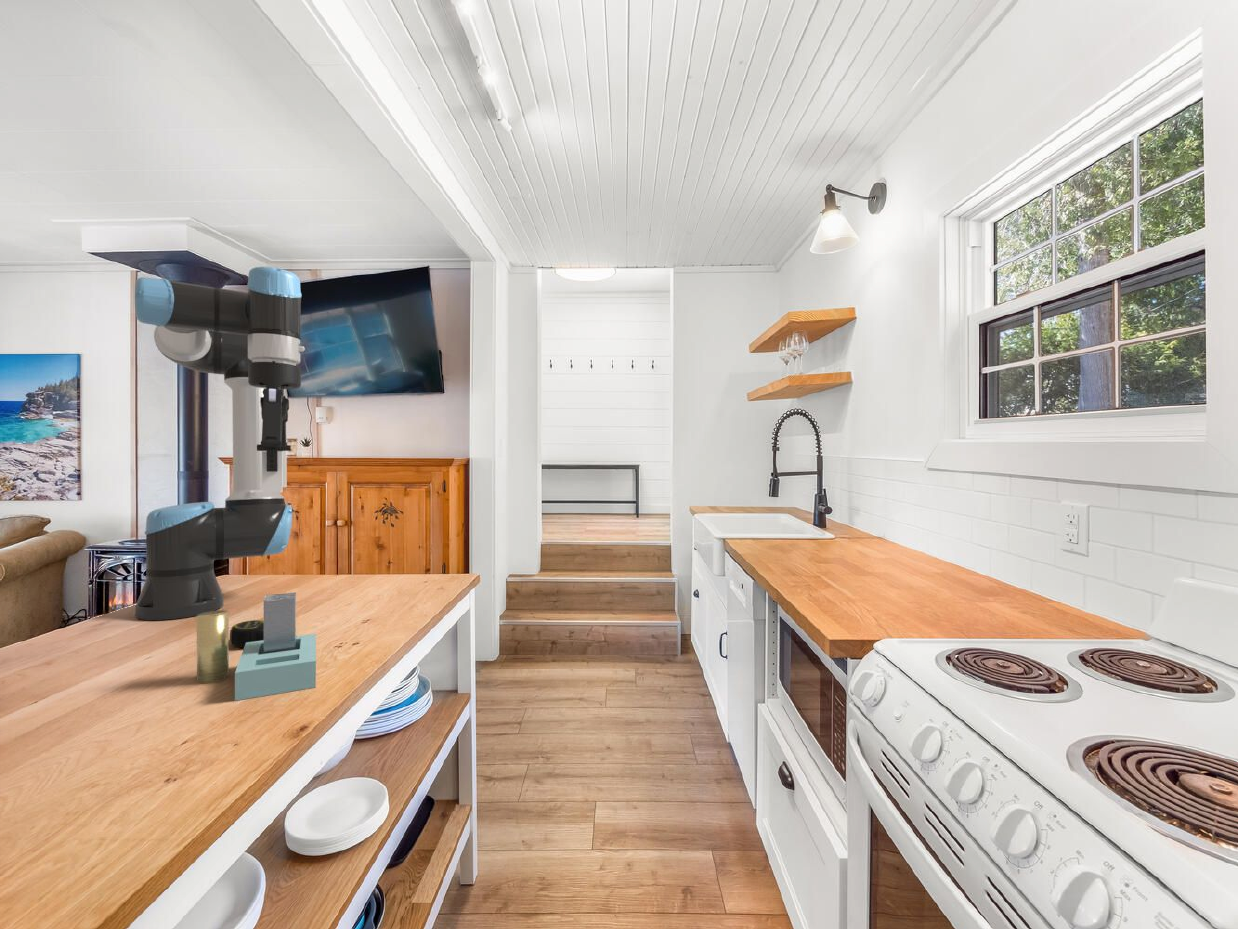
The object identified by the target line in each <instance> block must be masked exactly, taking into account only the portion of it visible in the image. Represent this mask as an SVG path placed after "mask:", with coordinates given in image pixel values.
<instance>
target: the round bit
mask: <svg viewBox="0 0 1238 929" xmlns="http://www.w3.org/2000/svg"><path fill="white" fill-rule="evenodd" d="M229 618H230V616H229V611H228V610H219V609H217V610H215V611H210V612H205V613H201V614H199V615H196V682H197V684H213V683H217V682H221V681H223V680H225V679H227V678H229V675H230V673H229V671H230V670H229V668H230V667H229V666H230V663H229V662H230V661H229V660H230V658H229V657H230V656H229V655H230V653H229V652H230V651H229V650H230V648H229V647H230V646H229V644H230V643H229V642H230V630H229V626H230V624H229V623H230V622H229V621H230V620H229Z"/></svg>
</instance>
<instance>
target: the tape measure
mask: <svg viewBox="0 0 1238 929" xmlns="http://www.w3.org/2000/svg"><path fill="white" fill-rule="evenodd" d="M262 640H264V619H263V620H262V619H261V620H260V619H253V620H247V621H241V622H239V623H236V624H234V625H233V626H232V627H231V629H230V630H229V642H230V644H231V645H232V646H235V647H238V648H241V647H242V648H244V647H245V644H246V642H254V641H262Z"/></svg>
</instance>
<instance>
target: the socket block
mask: <svg viewBox="0 0 1238 929" xmlns="http://www.w3.org/2000/svg"><path fill="white" fill-rule="evenodd" d="M239 658H240V659H239V661H238V662H237V666H236V669H235V672H234V701H236V702H237V701H242V700H243V701H244V700H248V699H255V698H259V697H267V696H271V695H277V694H284V693H290V692H291V693H292V692H296V691H302V690H308V689H313V688H316V684H317V683H316V676H317V668H316V667H317V666H316V665H317V634H316V633H310V634H302V635H301V634H300V635H296V650H289V651H282V652H275V653H268V654H264V640H262V641H254V642H246V644H245V647H243V650H242V652H241V654H240V657H239Z"/></svg>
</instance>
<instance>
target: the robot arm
mask: <svg viewBox="0 0 1238 929" xmlns="http://www.w3.org/2000/svg"><path fill="white" fill-rule="evenodd" d="M300 280H301V279H300V278H299V276H298V275H297V274H295V273H294V272H292V271H290V270H286V269H282V268H279V267H278V268H277V267H271V266H255V267H253V268H251V269H250V270H249V271H248V278H247V285H246V288H247V291H240V290H234V289H226V288H220V287H214V286H213V287H212V286H207V285H206V286H205V285H202V284H195V283H194V284H193V283H189V282H184V281H183V282H181V281H176V280H169V279H166V278H163V277H162V278H154V277H145V276H144V277H139V278H137V279H136V281H135V283H134V308H135V311H134V312H135V317H136V319H137V320H138V322H140V323H142V324H146V325H151V326H156V327H155V329H154V331H153V332H154V333H153V339H154V343H155V345H156V347H157V349H158V351H159V352H160V353H161V354H162V355H163V356H164V357H166V359H169V360H170V361H172V362H173V363H175V364H177V365H179V366H182V367H184V368H186V369H189V370H192V371H196V372H200V373H206V374H214V375H223V381H224V383H225V385H226V386H227V387H229V388H230V389H231V391H232V394H231V396H232V404H231V405H232V478H233V480H232V481H233V482H232V484H233V486H232V487H233V488H232V493H231V494H229V495H228V496H227V497H226V498H225V500H224V504H225V505H224V507H215V504H214V503H213V501H201V502H192V503H191V502H190V503H184V504H176V505H171V506H165V507H161V508H157V509H153V510H152V511H150V512H149V513H148V514H147V516H146V523H145V531H144V535H145V536H146V537H145V538H146V540H145V541H146V542H145V543H146V544H145V545H146V546H145V548H146V550H145V551H146V552H145V553H146V554H145V558H146V560H145V569H146V570H145V575H146V576H145V577H146V578H145V581H144V583H143V586H142V589H141V591H140V595H139V596H138V599H137V601H136V604H135V608H134V609H135V615H134V616H135V618H136V619H138V620H145V621H164V620H176V619H183V618H185V619H186V618H190V617H194V616H196V617H197V615H199V614H201V613H205V612H210V611H218V610H219V609H221V608H223V606H224V593H223V591H222V589H221V587H220V584H219V582H218V579H217V577H216V574H215V571H214V569H215V568H214V567H215V566H214V561H217V560H227V559H240V558H250V557H254V558H255V557H264V556H270V555H278V554H281V553H283V552H284V551H285V550H286V548H287V546H288V544H289V540H290V535H291V529H292V524H293V523H292V522H293V513H292V512H293V509H292V508H293V507H292V506H291V505H290V504H288V503H285V496H283V495H282V493H283V492H284V491H283V488H288V487H287V485H288V484H287V478H288V477H287V476H288V471H287V470H288V469H287V468H288V466H287V465H288V464H287V463H288V462H287V461H288V460H287V459H288V457H287V456H288V455H287V453H288V452H291V450H292V449H291V448H292V447H291V445H288V442H287V424H286V423H287V422H288V421H289V419H288V418H289V410H290V400H289V398H288V397H287V398H286V395H285V392H284V390H297V389H300V388H301V385H302V375H301V374H302V370H301V368H300V366H298V364H300V363H301V353H303V352H305V350H306V348H305V346H302V345H301V307H302V306H301V303H302V292H301V281H300Z"/></svg>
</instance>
